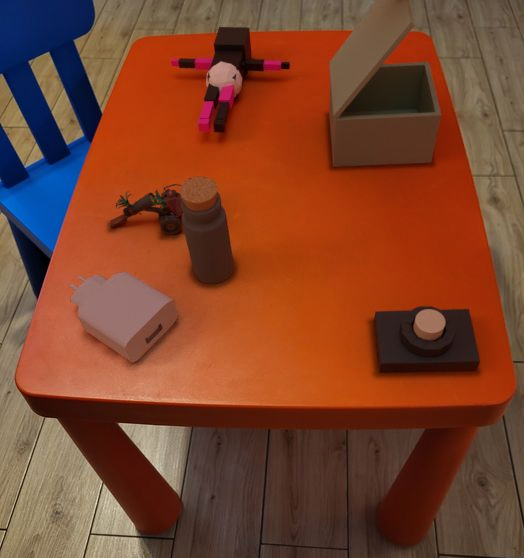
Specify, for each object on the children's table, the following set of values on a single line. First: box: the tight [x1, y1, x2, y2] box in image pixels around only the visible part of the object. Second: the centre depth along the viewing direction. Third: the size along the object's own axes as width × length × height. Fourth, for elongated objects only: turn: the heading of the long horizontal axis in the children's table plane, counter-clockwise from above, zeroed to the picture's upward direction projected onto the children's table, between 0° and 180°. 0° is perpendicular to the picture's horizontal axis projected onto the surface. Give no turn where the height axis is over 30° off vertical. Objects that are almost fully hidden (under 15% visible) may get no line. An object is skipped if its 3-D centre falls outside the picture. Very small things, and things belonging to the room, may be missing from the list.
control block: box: [373, 305, 481, 373], centre depth 77 cm, size 12×8×4 cm, turn 89°
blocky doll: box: [170, 26, 291, 134], centre depth 107 cm, size 22×25×6 cm
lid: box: [328, 0, 416, 118], centre depth 88 cm, size 16×14×1 cm
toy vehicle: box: [109, 177, 192, 236], centre depth 91 cm, size 7×15×8 cm, turn 94°
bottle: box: [179, 176, 235, 285], centre depth 81 cm, size 6×6×15 cm
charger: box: [68, 271, 179, 363], centre depth 82 cm, size 5×9×15 cm
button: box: [413, 309, 445, 341], centre depth 75 cm, size 4×4×2 cm
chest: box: [328, 61, 442, 168], centre depth 98 cm, size 16×14×9 cm
